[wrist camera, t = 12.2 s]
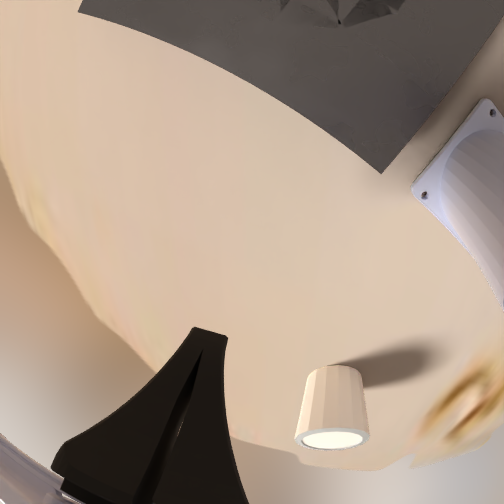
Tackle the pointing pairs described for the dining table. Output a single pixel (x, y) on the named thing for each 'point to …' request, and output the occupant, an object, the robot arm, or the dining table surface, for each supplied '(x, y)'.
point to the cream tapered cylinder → (333, 410)
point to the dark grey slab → (329, 55)
